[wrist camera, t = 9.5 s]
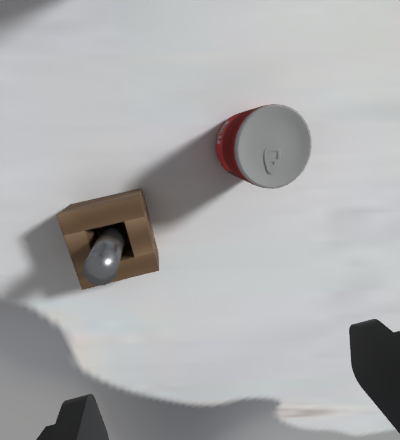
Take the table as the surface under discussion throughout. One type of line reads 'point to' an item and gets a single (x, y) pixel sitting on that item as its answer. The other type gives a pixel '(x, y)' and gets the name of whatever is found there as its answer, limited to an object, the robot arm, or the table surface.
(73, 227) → the socket block
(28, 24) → the table surface
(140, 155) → the table surface
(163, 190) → the table surface
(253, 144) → the canned food
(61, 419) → the robot arm
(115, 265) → the pin
